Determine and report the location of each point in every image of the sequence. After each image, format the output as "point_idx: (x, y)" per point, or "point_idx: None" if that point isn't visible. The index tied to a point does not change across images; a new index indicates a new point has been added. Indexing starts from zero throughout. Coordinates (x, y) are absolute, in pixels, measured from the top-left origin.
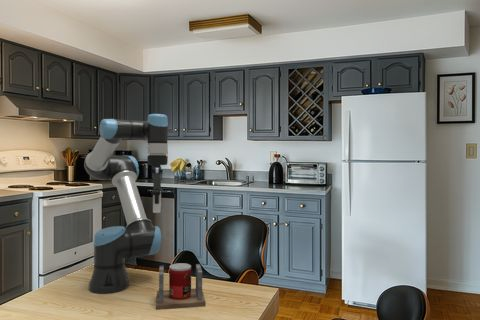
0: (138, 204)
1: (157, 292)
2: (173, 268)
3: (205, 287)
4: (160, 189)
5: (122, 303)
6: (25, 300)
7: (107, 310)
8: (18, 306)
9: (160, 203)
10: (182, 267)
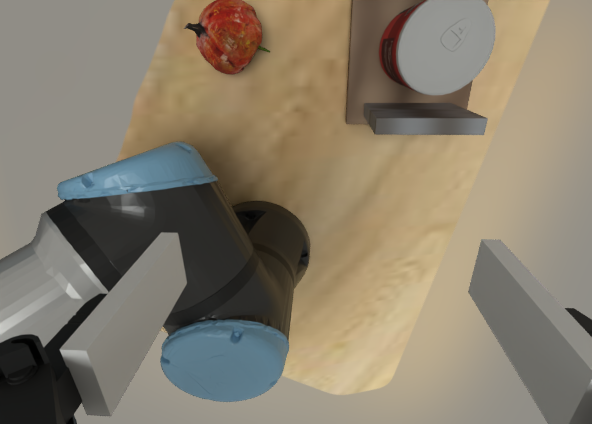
0: None
1: (360, 121)
2: (472, 78)
3: None
4: (53, 379)
5: (387, 206)
6: (320, 375)
7: (422, 234)
8: (349, 378)
9: (549, 292)
10: (458, 36)
